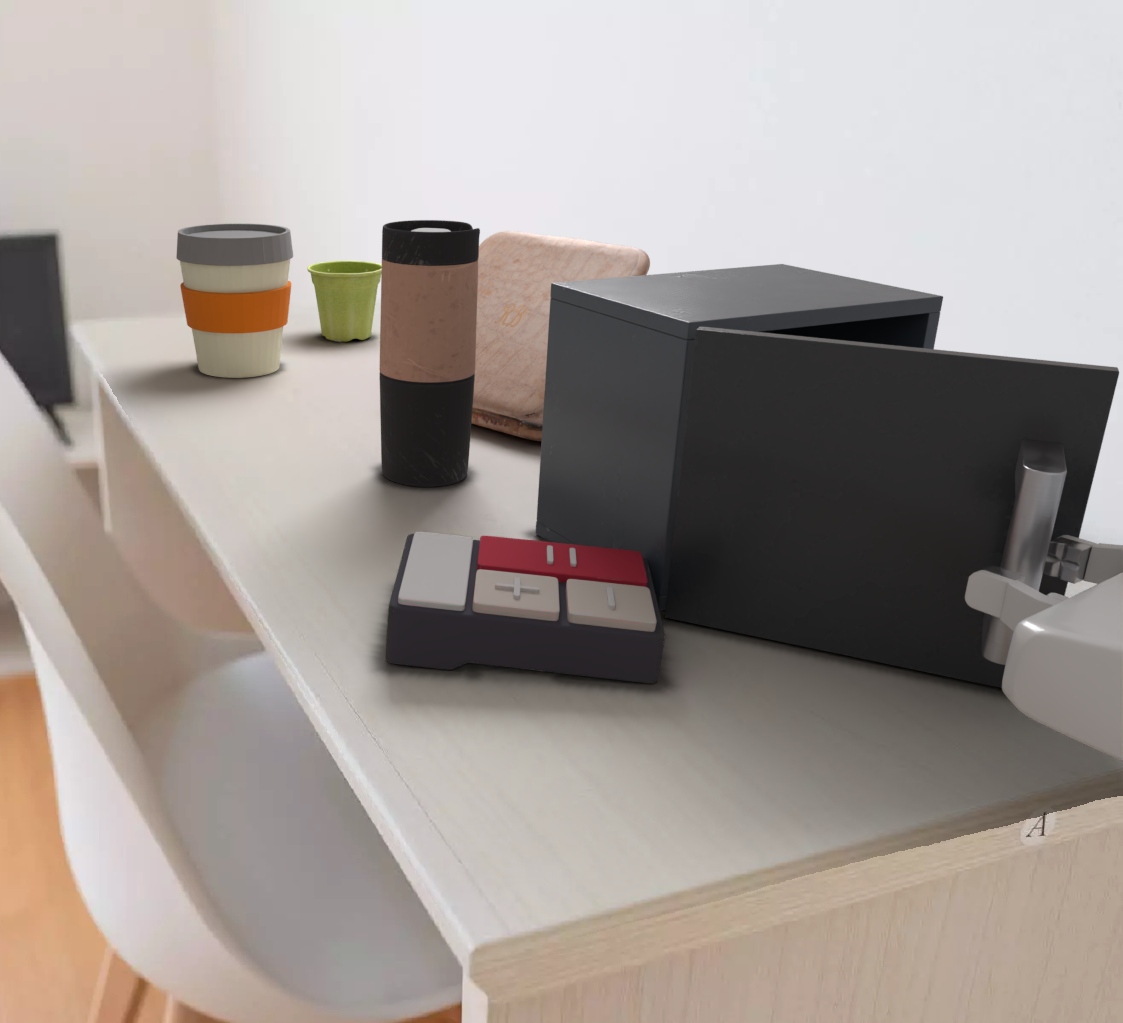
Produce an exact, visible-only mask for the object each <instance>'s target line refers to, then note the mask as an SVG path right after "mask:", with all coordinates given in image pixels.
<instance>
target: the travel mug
mask: <svg viewBox="0 0 1123 1023" xmlns="http://www.w3.org/2000/svg"><path fill="white" fill-rule="evenodd" d="M381 234H382V235H381V265H382V271H381V279H380V282H381V283H380V321H379V322H380V323H379V324H380V326H379V332H380V333H379V410H380V411H379V412H380V413H379V416H380V418H379V419H380V454H381V456H380V458H381V472H382V475H383V477H385V478H386V479H387V480H389V481H391V482H393V483H397V484H401V485H405V486H411V487H424V488H427V487H428V488H431V487H433V488H434V487H442V486H443V487H444V486H449V485H450V486H451V485H453V484H458V483H459V482H461V481H462V480H464V479H465V478H466V477H467V476H468V470H469V463H470V462H469V460H470V449H471V448H470V447H471V434H472V423H471V422H472V408H473V394H474V380H475V374H474V373H475V359H476V326H477V293H478V261H479V260H478V258H479V245H480V234H481V229H480V227H475V228H473V226H472V224H471V223H468V222H464V221H457V220H444V219H443V220H442V219H441V220H440V219H419V220H418V219H414V220H399V221H392V222H391V221H390V222H387V223H385V224H383V225H382V230H381Z"/></svg>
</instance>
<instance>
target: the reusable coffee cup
mask: <svg viewBox="0 0 1123 1023" xmlns="http://www.w3.org/2000/svg"><path fill="white" fill-rule="evenodd" d="M175 258H176V260H178V261H179V264H180V270H181V275H182V276H181V277H182V282H181V283H180V292H181V298H182V303H183V309H184V315H185V319H186V320H185V321H186V325H187V327H189V328H190V329H191V332H192V333H191V334H192V339H193V344H194V349H195V355H196V361H197V367H198V371H199V372H200V373H202V374H205V375H207V376H212V377H218V378H229V379H230V378H233V379H241V378H254V377H261V376H266V375H270V374H272V373H275V372H276V371H278V370H279V369H280V363H281V353H282V352H281V351H282V342H283V334H284V333H283V332H284V327H285V326H286V325H287V324H288V322H289V313H290V301H291V292H292V282H291V281H290V280H289V275H290V274H289V273H290V266H291V259H293V258H294V250H293V242H292V233H291V229H290V228H288V227H285V226H281V225H275V224H267V223H265V224H263V223H214V224H202V225H200V224H199V225H193V226H188V227H183V228H180V229H178V230H177V238H176V257H175Z"/></svg>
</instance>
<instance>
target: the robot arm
mask: <svg viewBox="0 0 1123 1023" xmlns="http://www.w3.org/2000/svg"><path fill="white" fill-rule="evenodd" d="M1043 573H1044V574H1046V575H1049V576H1053V577H1058V578H1059V579H1061V580H1064V581H1067V582H1068V583H1070V584H1073V585H1075V584H1078V583H1080V582H1082V581H1083V582H1087V583H1091V584H1095V585H1093V586H1090V587H1089V588H1087V589H1084V590H1083V591H1079V592H1078V593H1075V595H1072V596H1070V597H1069V596H1066V595H1065V596H1063V595H1060V594H1057V593H1049V594H1047V595H1044V594H1042V593H1040V592H1039V591H1037V590H1035V589H1033V588H1031V587H1030V586H1028V585H1026V584H1024V579H1025V575H1022V574H1019V573H1016V572H1013V571H1008V570H1004V569H1002V568H1001V567H998V566H990V567H987V568H984V569H982V570H979V571H977V572H974V573H973V574H972V575H970V576H969V579H968V584H967V588H966V593H965V601H966V603H967V604H968V605H969V606H970V607H971V608H973V609H976V610H979V611H981V612H984V613H987V614H989V615H992V616H995V617H997V618H1000V620H1001V621H1002V622H1003V623H1004V624H1006V625H1007V626H1008V627H1009V628H1010V629H1011V630H1012V631H1013V632H1014V633H1013V636H1012V640H1011V644H1010V648H1009V652H1008V655H1007V660H1006V665H1005V670H1004V675H1003V680H1002V688H1001V690H1002V692H1003V694H1004V695H1005V697H1006V698H1007V699H1008V700H1009V701H1010V703H1011V704H1012V705H1013V706H1014V707H1015V708H1016V709H1017V710H1018V711H1019V712H1020V713H1021V714H1023V715H1024V716H1025V717H1028V718H1029V719H1031V720H1033V721H1034V722H1037V723H1038V724H1041V725H1043V726H1044V727H1047V728H1049V729H1051V730H1053V731H1055V732H1057V733H1058V734H1062V735H1063V736H1066V737H1068V738H1069V739H1072V740H1074V741H1076V742H1078V743H1080V744H1083V745H1085V746H1087V747H1090V748H1091V749H1093V750H1096V751H1098V752H1100V753H1103V754H1104V755H1106V756H1109V757H1112V758H1114V759H1116V760H1119V761H1121V762H1123V544H1112V543H1102V542H1101V543H1100V542H1099V543H1097V542H1093V541H1090V540H1086V539H1083V538H1080V537H1079V538H1077V537H1073V536H1070V535H1062V536H1060V537H1058V538H1056V539H1054V540H1051V541H1050V545H1049V549H1048V553H1047V558H1046V562H1045V566H1044V570H1043Z"/></svg>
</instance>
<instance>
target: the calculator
mask: <svg viewBox="0 0 1123 1023" xmlns="http://www.w3.org/2000/svg"><path fill="white" fill-rule="evenodd" d="M402 550H403V551H402V554H401V558H400V562H399V566H398V569H397V573H396V577H395V581H394V584H393V588H392V591H391V592H392V593H391V596H390V599H389V603H388V610H387V611H388V612H387V626H386V636H385V637H386V639H385V640H386V641H385V652H384V657H385V658H384V660H385V661H386V662H387V663H390V664H394V665H402V666H410V667H420V668H428V669H435V670H447V671H451V670H454V669H456V668H458V667H459V668H460V667H461V666H464V665H466V664H474V665H475V664H477V665H485V666H493V667H503V668H512V669H520V670H528V671H537V672H547V673H554V674H564V675H571V676H580V677H589V678H597V679H606V680H615V681H624V682H633V683H641V684H650V685H651V684H655V683H657V682H658V679H659V675H660V668H661V662H662V657H663V652H664V646H665V645H664V644H665V641H666V640H665V639H666V633H665V630H664V629H665V628H664V625H663V621H662V617H661V611H659V607H658V603H657V599H656V594H655V590H654V586H653V581H652V577H651V573H650V568H649V564H648V561H647V560H646V559H645V558H643V557H642V554H641V552H638V551H631V550H622V549H612V548H602V547H593V546H583V545H573V544H563V543H554V542H548V541H545V540H544V541H543V540H533V539H524V538H514V537H504V536H494V535H481V536H480V538H479V539H474V538H473V537H472V536H467V535H457V534H448V533H439V532H438V533H437V532H430V531H429V532H427V531H415V532H414V533H410V534H408V535H407V537H406V540H405V544H404V547H403V549H402Z"/></svg>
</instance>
